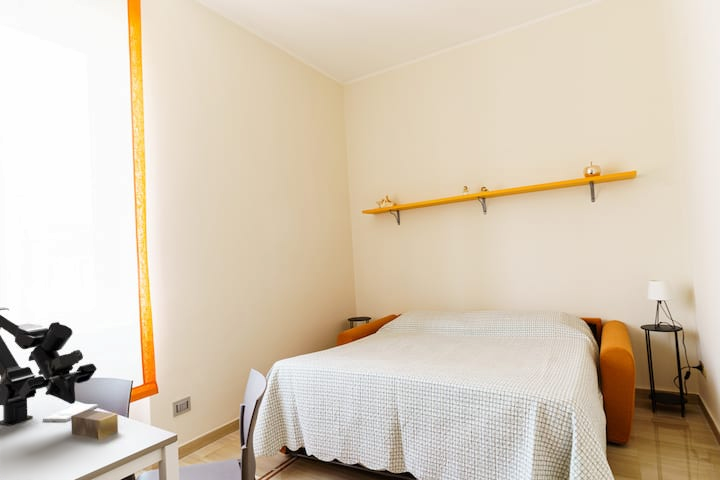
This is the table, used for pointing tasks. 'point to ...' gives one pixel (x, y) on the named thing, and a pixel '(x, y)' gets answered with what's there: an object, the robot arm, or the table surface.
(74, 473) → the table surface
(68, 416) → the external hard drive
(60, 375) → the robot arm
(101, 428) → the walnut block
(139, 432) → the table surface
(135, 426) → the table surface
